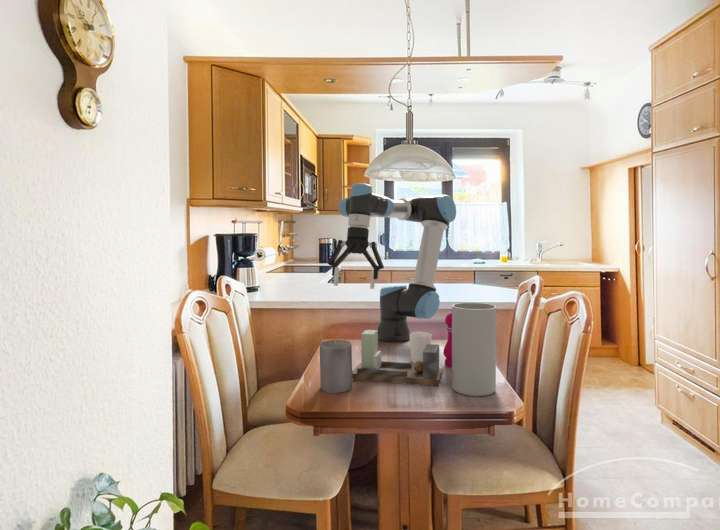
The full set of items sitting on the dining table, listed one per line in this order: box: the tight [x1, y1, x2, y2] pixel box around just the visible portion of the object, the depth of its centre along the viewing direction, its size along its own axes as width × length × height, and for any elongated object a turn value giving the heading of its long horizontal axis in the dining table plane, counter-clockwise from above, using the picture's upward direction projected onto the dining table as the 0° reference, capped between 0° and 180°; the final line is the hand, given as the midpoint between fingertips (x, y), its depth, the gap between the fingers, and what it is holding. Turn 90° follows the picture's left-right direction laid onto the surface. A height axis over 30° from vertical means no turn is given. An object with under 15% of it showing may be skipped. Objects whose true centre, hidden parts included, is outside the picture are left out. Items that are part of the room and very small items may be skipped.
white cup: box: [409, 331, 433, 364], centre depth 165 cm, size 8×8×10 cm
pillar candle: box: [319, 338, 353, 394], centre depth 138 cm, size 10×10×15 cm
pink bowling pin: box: [443, 309, 452, 368], centre depth 160 cm, size 7×7×20 cm
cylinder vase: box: [451, 302, 497, 397], centre depth 134 cm, size 12×12×25 cm
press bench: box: [352, 343, 444, 387], centre depth 148 cm, size 28×12×10 cm, turn 75°
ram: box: [360, 329, 382, 369], centre depth 150 cm, size 5×7×12 cm
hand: (353, 287), depth 163 cm, fingers open, 13 cm apart
